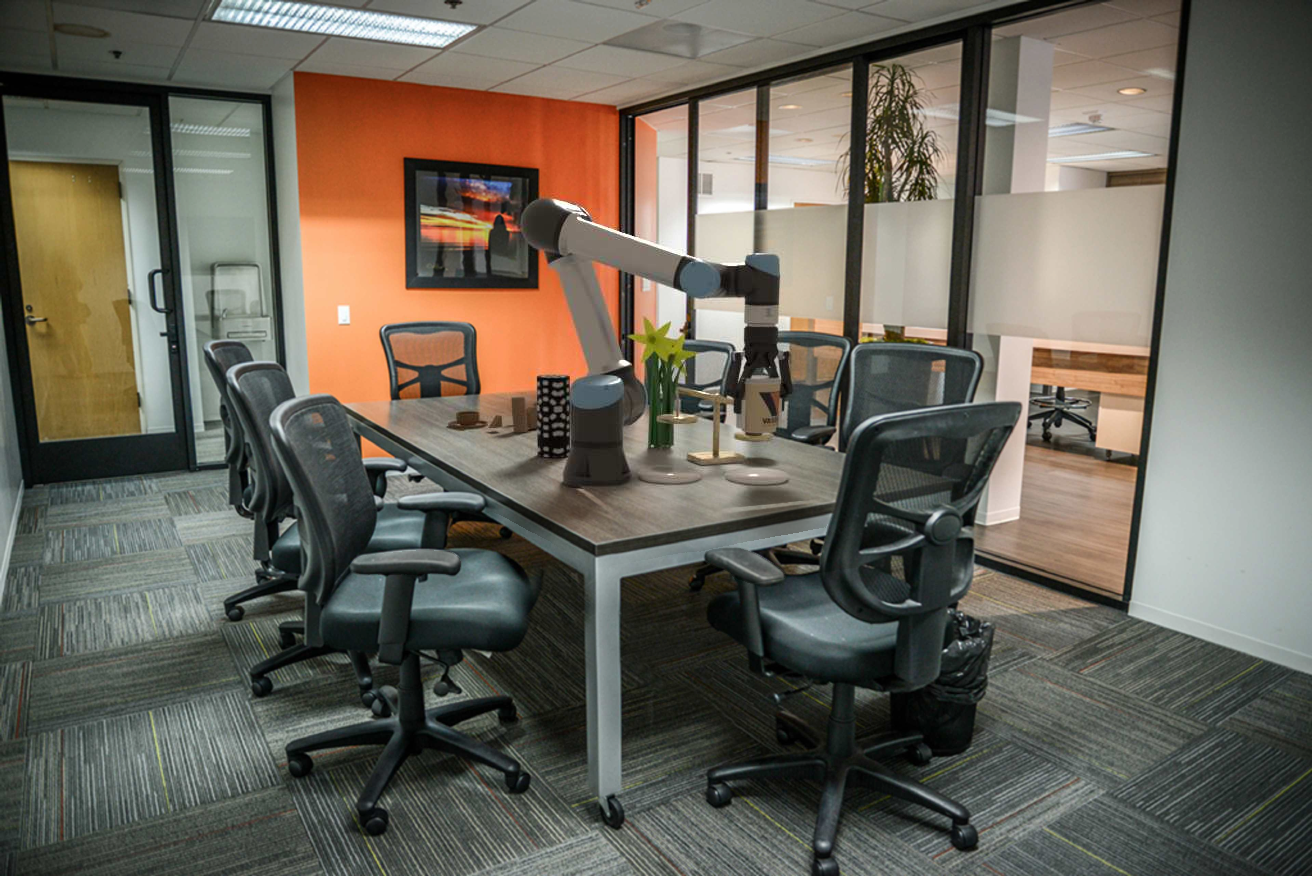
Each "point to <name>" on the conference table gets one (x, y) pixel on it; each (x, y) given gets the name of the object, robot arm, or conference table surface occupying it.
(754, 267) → the robot arm
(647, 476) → the disc
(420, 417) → the conference table surface
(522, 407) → the wooden block set
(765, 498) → the conference table surface
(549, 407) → the spotted tube
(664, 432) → the daffodil flowers
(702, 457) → the balance
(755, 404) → the coffee cup
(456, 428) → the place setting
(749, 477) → the dish
